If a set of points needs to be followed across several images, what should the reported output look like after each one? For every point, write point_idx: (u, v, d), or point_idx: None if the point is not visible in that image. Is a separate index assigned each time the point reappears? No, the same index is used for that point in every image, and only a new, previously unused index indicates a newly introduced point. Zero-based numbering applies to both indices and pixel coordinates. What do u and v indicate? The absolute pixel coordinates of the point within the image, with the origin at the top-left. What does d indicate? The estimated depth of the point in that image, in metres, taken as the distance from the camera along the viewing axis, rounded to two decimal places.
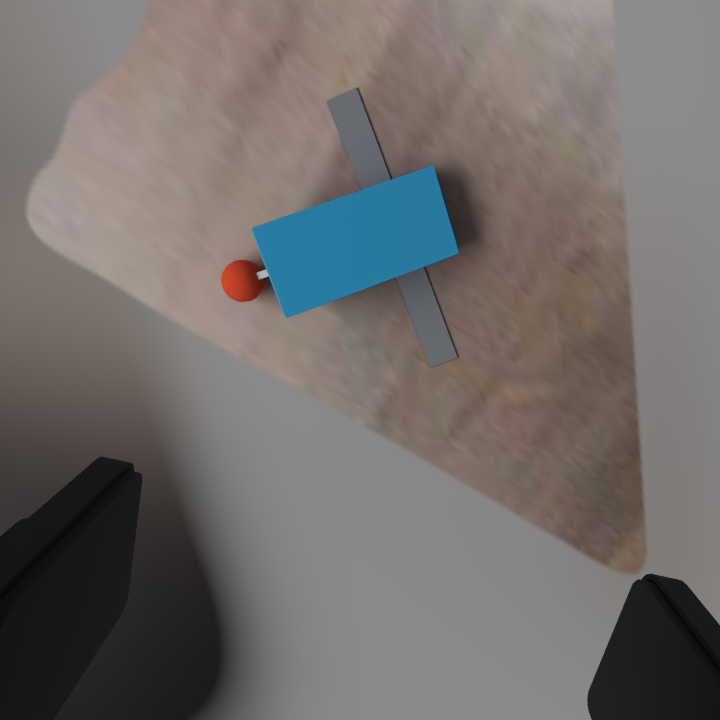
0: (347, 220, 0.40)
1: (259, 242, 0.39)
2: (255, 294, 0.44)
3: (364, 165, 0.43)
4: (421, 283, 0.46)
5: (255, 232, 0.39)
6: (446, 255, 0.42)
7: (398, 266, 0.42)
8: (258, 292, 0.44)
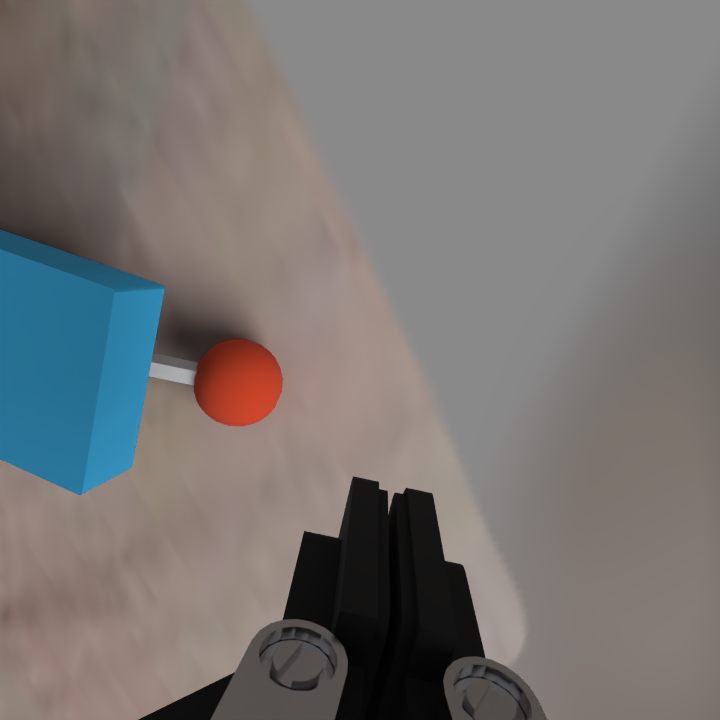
0: None
1: (86, 462, 0.17)
2: (220, 350, 0.20)
3: None
4: None
5: (80, 484, 0.17)
6: None
7: None
8: (216, 349, 0.20)
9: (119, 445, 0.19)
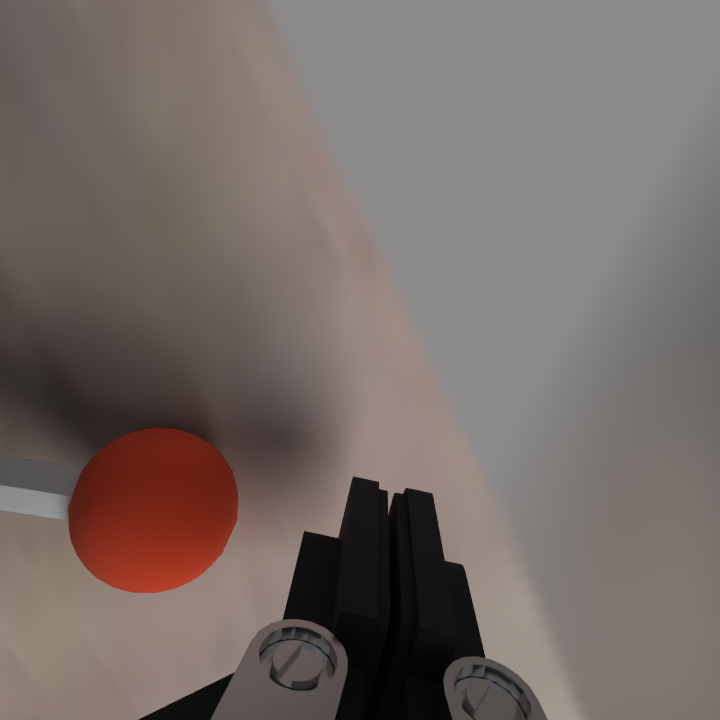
0: None
1: None
2: (113, 459, 0.11)
3: None
4: None
5: None
6: None
7: None
8: (108, 453, 0.11)
9: None
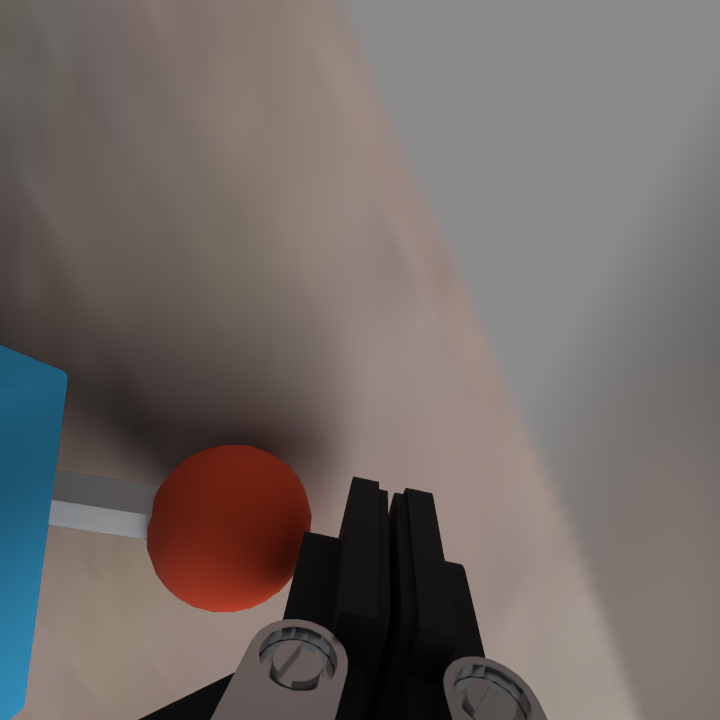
0: None
1: None
2: (194, 478, 0.11)
3: None
4: None
5: None
6: None
7: None
8: (187, 472, 0.11)
9: None
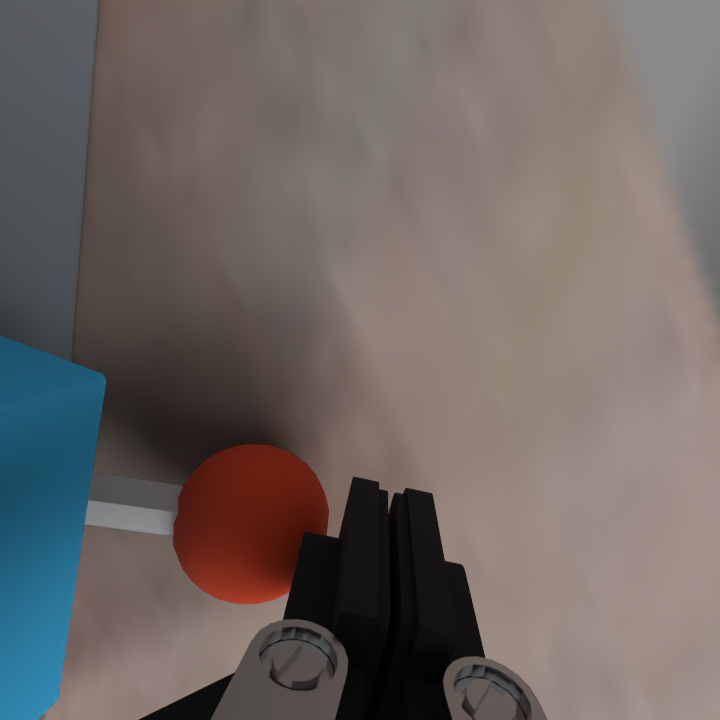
0: None
1: None
2: (219, 476, 0.11)
3: None
4: (0, 210, 0.12)
5: None
6: None
7: None
8: (212, 470, 0.11)
9: (23, 685, 0.09)
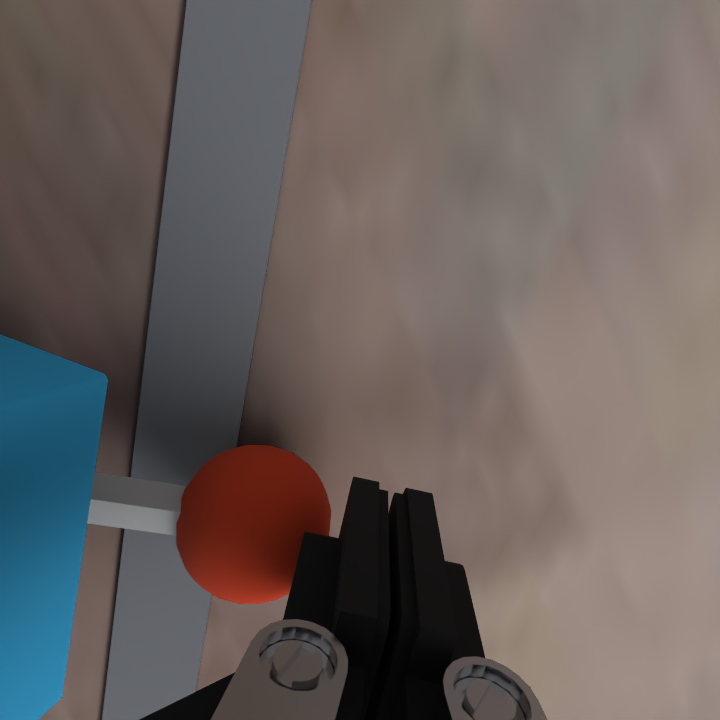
0: None
1: None
2: (221, 476, 0.11)
3: (168, 642, 0.15)
4: (187, 259, 0.13)
5: None
6: None
7: None
8: (214, 470, 0.11)
9: (27, 682, 0.10)
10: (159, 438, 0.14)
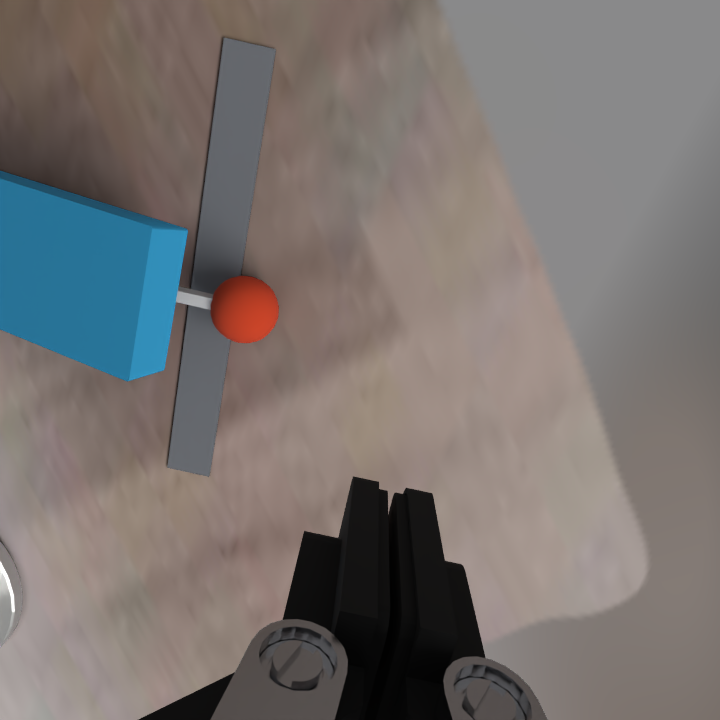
0: (16, 299, 0.25)
1: (132, 357, 0.24)
2: (229, 282, 0.27)
3: (205, 387, 0.31)
4: (217, 193, 0.28)
5: (128, 373, 0.24)
6: None
7: None
8: (226, 281, 0.27)
9: (155, 349, 0.25)
10: (203, 280, 0.29)
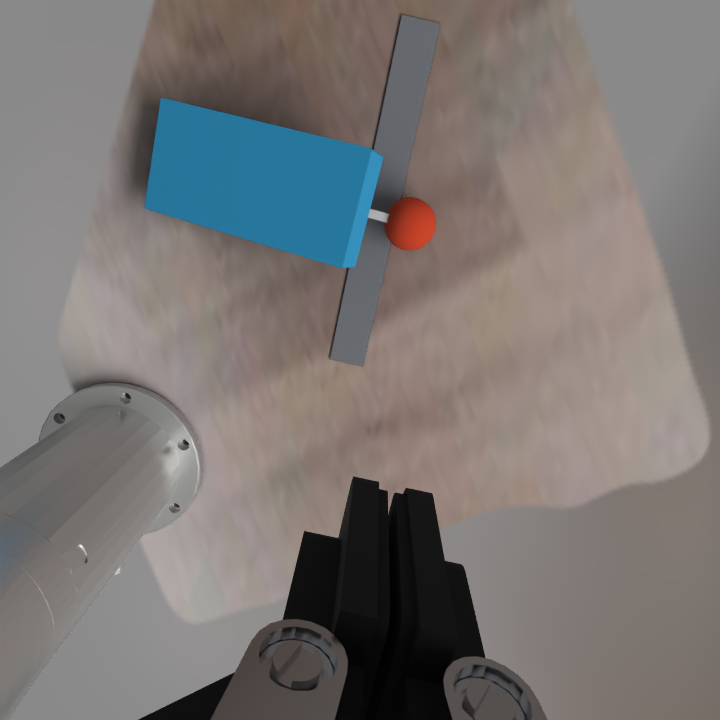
0: (249, 210, 0.34)
1: (345, 249, 0.32)
2: (403, 200, 0.35)
3: (366, 292, 0.39)
4: (386, 136, 0.36)
5: (342, 261, 0.32)
6: (174, 104, 0.34)
7: (226, 126, 0.33)
8: (400, 200, 0.35)
9: (355, 247, 0.33)
10: (371, 204, 0.37)
